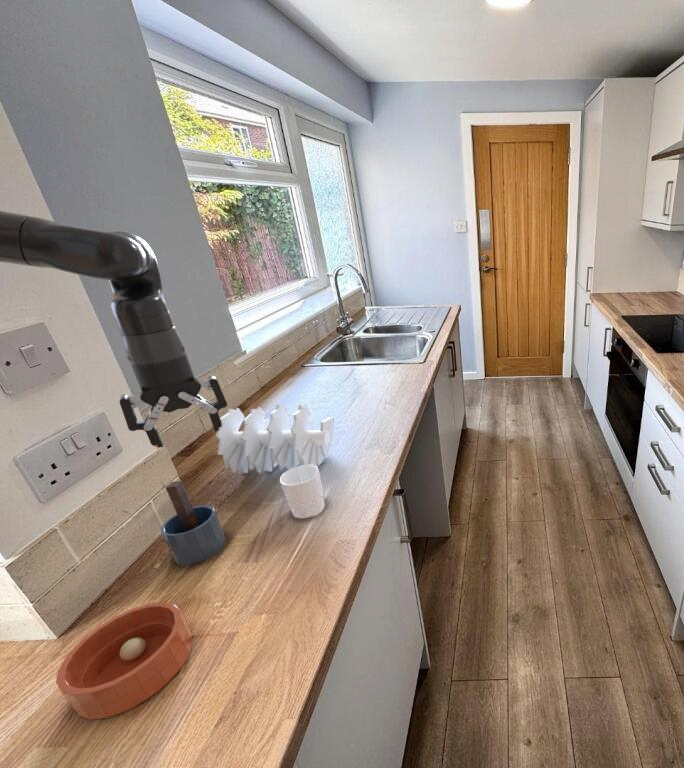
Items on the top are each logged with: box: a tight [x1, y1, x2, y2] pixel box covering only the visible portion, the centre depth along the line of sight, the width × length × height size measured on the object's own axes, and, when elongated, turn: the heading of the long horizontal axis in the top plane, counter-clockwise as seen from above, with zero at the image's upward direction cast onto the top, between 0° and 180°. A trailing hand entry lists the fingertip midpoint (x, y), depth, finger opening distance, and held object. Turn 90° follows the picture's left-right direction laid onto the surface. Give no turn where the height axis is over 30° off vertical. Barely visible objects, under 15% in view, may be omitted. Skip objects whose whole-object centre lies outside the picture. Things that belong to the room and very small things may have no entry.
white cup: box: [279, 464, 325, 519], centre depth 92 cm, size 8×8×10 cm
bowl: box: [55, 601, 194, 720], centre depth 60 cm, size 14×14×6 cm
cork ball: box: [119, 637, 146, 661], centre depth 62 cm, size 3×3×3 cm
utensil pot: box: [160, 505, 227, 566], centre depth 82 cm, size 9×9×8 cm
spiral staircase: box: [214, 404, 335, 474], centre depth 108 cm, size 18×18×25 cm
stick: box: [165, 480, 200, 532], centre depth 80 cm, size 2×2×16 cm
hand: (189, 437), depth 76 cm, fingers open, 8 cm apart
